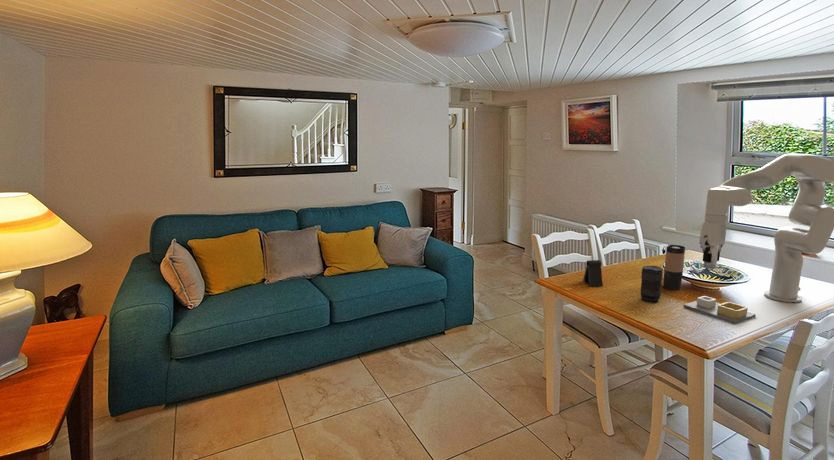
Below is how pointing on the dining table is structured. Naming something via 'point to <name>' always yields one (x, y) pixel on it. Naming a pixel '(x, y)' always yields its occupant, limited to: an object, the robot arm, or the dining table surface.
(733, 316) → the fitting board
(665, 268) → the travel mug
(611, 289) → the dining table surface
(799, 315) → the dining table surface
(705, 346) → the dining table surface
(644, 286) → the camera lens
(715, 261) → the light grey rectangular block
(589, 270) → the door stopper
